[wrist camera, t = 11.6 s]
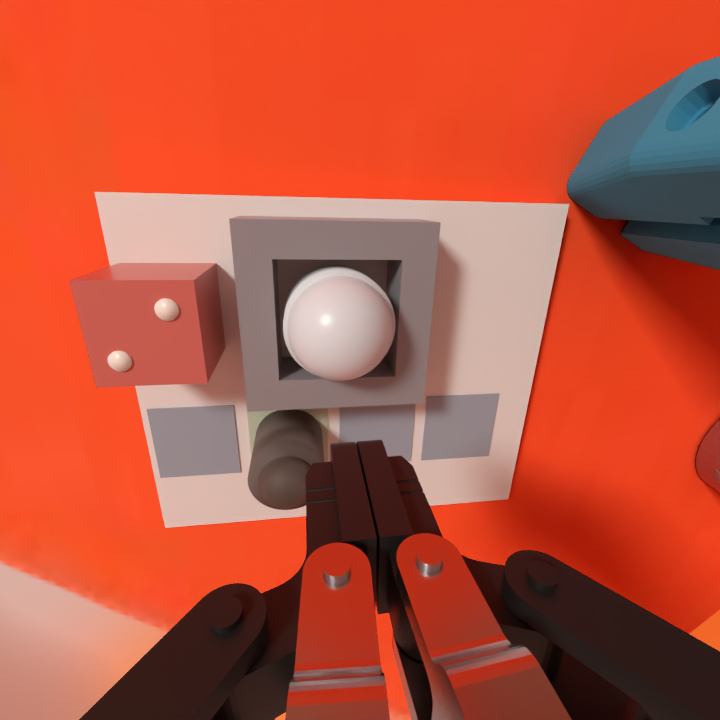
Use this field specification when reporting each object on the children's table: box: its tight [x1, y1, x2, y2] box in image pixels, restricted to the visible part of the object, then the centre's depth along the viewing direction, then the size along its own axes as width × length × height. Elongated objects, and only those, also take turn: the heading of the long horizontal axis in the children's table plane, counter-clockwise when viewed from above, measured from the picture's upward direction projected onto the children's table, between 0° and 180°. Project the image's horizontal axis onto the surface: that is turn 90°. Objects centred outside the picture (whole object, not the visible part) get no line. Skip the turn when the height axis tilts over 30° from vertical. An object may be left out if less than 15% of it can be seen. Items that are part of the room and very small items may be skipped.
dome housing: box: [229, 216, 441, 412], centre depth 22 cm, size 10×10×4 cm
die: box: [69, 263, 226, 387], centre depth 20 cm, size 5×5×5 cm
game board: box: [95, 192, 569, 528], centre depth 26 cm, size 26×22×1 cm
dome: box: [283, 265, 395, 381], centre depth 20 cm, size 6×6×5 cm
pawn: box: [248, 409, 325, 510], centre depth 24 cm, size 4×4×6 cm
